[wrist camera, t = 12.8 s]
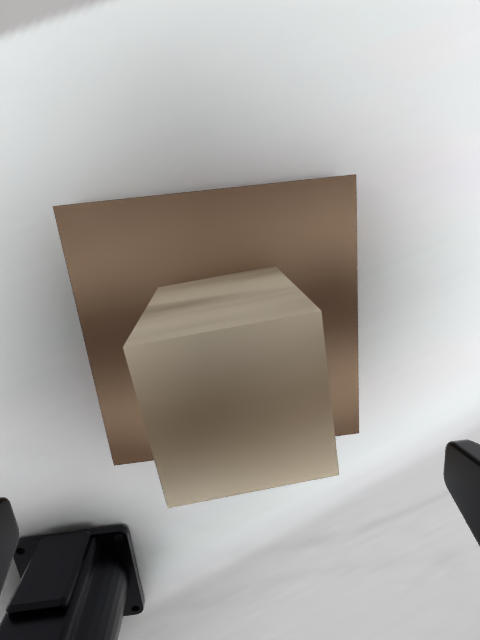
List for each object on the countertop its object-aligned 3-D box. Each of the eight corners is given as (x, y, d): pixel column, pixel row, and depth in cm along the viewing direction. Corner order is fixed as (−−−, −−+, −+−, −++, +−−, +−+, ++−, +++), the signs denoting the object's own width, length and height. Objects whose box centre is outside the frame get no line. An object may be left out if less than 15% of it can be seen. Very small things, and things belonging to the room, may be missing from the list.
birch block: (290, 372, 18) (339, 475, 11) (183, 392, 18) (167, 508, 11) (275, 266, 16) (321, 310, 10) (158, 287, 16) (122, 347, 10)
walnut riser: (339, 402, 22) (359, 433, 19) (126, 430, 21) (113, 465, 19) (333, 178, 18) (356, 174, 15) (77, 205, 18) (52, 206, 15)
